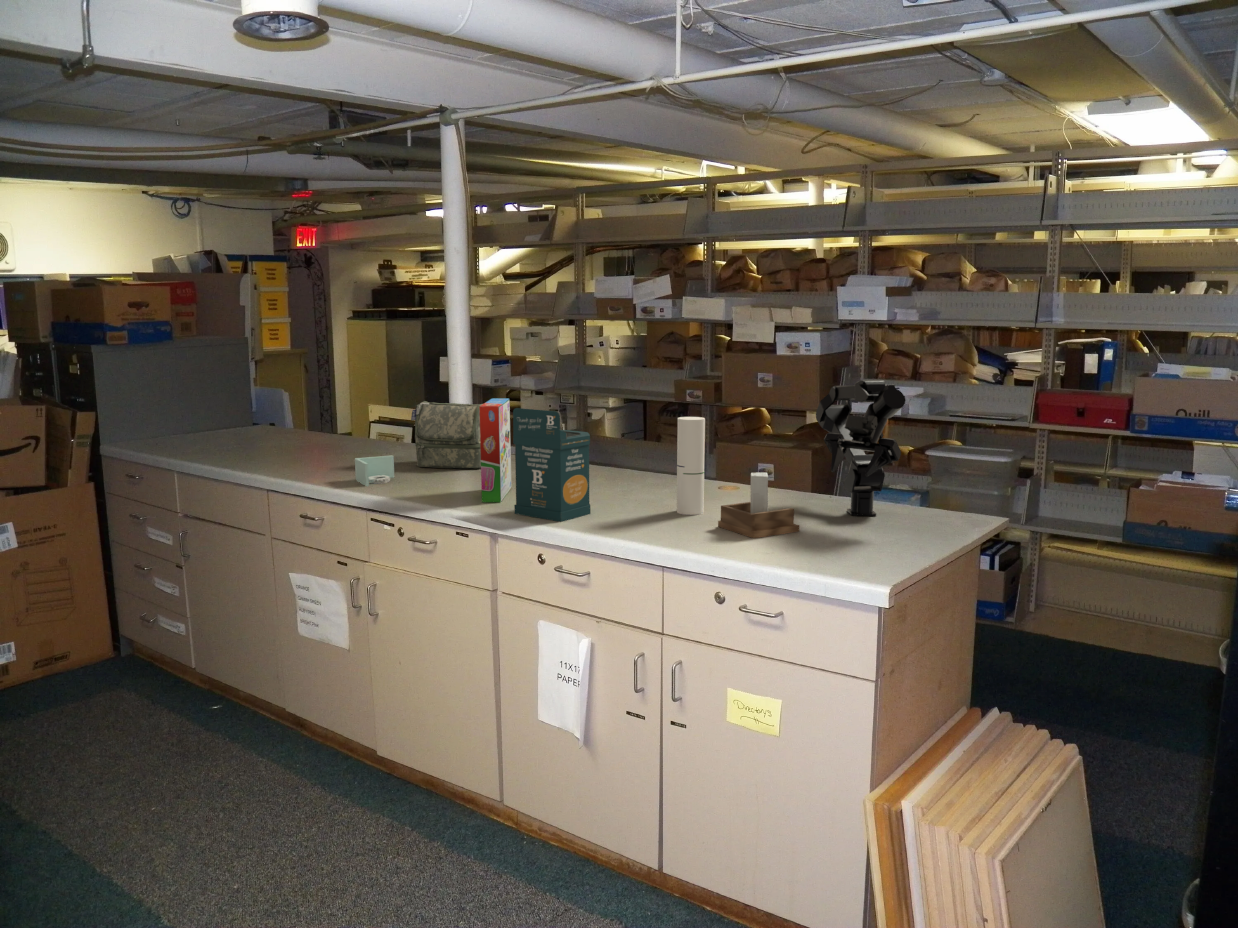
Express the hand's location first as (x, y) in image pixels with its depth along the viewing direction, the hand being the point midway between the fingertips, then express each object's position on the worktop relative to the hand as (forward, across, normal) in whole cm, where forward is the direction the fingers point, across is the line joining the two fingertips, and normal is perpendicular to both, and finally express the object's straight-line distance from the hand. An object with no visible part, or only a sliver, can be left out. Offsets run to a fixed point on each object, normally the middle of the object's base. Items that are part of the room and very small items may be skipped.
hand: (849, 473), depth 230 cm
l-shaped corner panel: (+40, -138, -20) cm, 145 cm away
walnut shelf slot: (+21, -15, -2) cm, 26 cm away
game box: (+32, -94, -13) cm, 101 cm away
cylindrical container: (+18, -40, +1) cm, 44 cm away
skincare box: (+20, -15, -3) cm, 25 cm away
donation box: (+35, -65, -16) cm, 76 cm away
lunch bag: (+15, -146, +4) cm, 147 cm away
